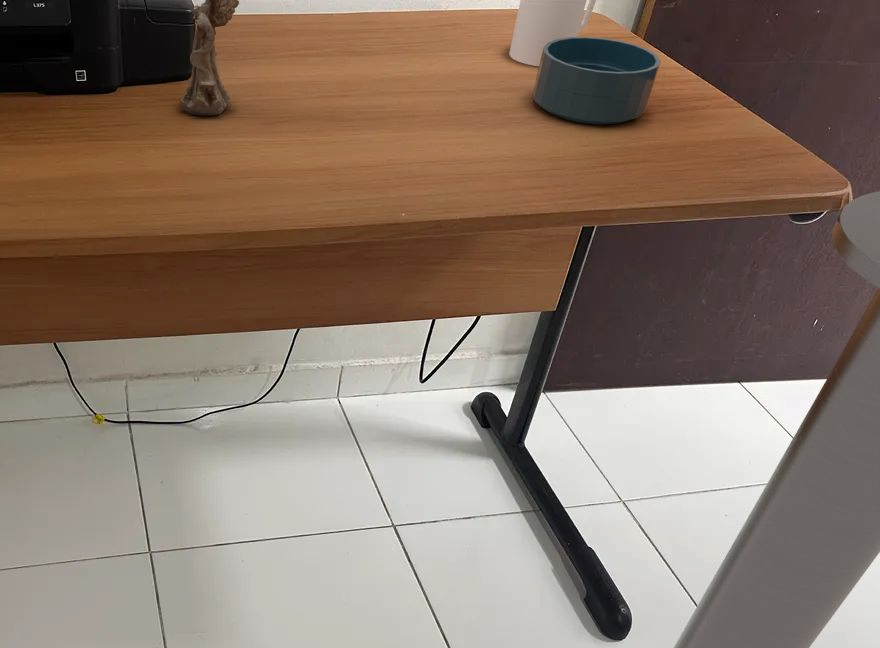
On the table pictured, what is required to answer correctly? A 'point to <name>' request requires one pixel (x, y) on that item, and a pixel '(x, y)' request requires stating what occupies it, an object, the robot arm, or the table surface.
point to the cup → (546, 26)
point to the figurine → (207, 60)
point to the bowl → (595, 79)
